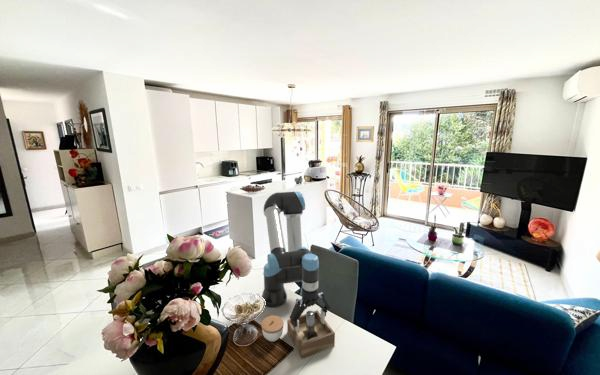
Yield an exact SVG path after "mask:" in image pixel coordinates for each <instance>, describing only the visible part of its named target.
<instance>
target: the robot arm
mask: <svg viewBox="0 0 600 375" xmlns="http://www.w3.org/2000/svg"><path fill="white" fill-rule="evenodd" d="M305 209H306V201H305V196H304V194H303V193H302V192H301V191H285V192H283V191H282V192H274V193H272V194H270V196H268V198H266V200H265V203H264V205H263V215H264V217H265V218H266V225H267V227H266V228H267V233H268V234H267V235H268V241H269V242H268V243H269V250H270V253H268V254H267V259H266V261H267V263H265V265H264V267H263V286H264V287H263V291H262V294H261V298H262V297H263V298H264V299H265V301H266V305H265V306H266V307H269V308H278V307H280V306H282V305H284V304H285V303H286V302H287V300H288V294H287V291H286V289H285V284H291V283H292V284H293V283H301V286H302V287H301V293H302V294H301V296H302V297H301V298H300V299H299V298H296V299H295V303H294V306H293V308H292V311H291V313H290V315H289V320H290V319H291V321H292V322H293V321H294V326H295V330H296V331H297V333H299V320H298V319H299V318H300V316H302V315H303V313H304V312H305V310H307V309H308V308H309V307H313V306H315V305H316V306H318V307H319V308H320V314H321V322H322V323H323V324H325V321H326V318H325V317H327V313H328V310H329V309H330V308H331V307H330V306H329V304H328V301H327V300H326V298H325V294H324V292H323V291H319V270H320V269H319V268H320V266H319V265H320V262H319V257H318V256H317V255H316V254H314V253H312V251H311V250H310V249H309V248H307V247H306V246H303V240H302V239H303V238H302V221H301V216H302V215H303V213H304V212H303V211H305ZM281 213H283V216H285V218H286V221H285V222H286V235H287V251H286V245H285V244H286V243H285V239H284V233H283V228H282V223H281V216H280V215H281ZM319 299H321V302H322V303H323V304H324V305H323V304H322V303H320V301H318V300H319Z"/></svg>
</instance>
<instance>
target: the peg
mask: <svg viewBox="0 0 600 375" xmlns="http://www.w3.org/2000/svg"><path fill="white" fill-rule="evenodd" d="M305 314H306V335H305V337H306V338H307V340H309V339H311V338H314V337H315V313H314V311H313V310H307V311H306V312H305Z"/></svg>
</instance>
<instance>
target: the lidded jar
mask: <svg viewBox="0 0 600 375" xmlns="http://www.w3.org/2000/svg"><path fill="white" fill-rule="evenodd" d="M284 323H285V322H284V319H283V318H282V317H280V316H279V315H268V316H266V317H265V318H264V319H263V320H262V321H261V325H260V326H261V332H262V334H263V337H264V339H266V340H267V341H268V342H270V343H271V342H276V341H278V340H279V339H281V337H282V335H283V332H284V326H285V325H284Z"/></svg>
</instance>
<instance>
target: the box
mask: <svg viewBox="0 0 600 375" xmlns="http://www.w3.org/2000/svg"><path fill="white" fill-rule="evenodd" d="M313 312H314V313H315V337H314V338H311V339H309V340H307V338H306V313H305V314H302V315H301V316H300V318H299V319H298V320H299V333H297V331H296V330H295V326H294V321H293V322H292V321H291V319H290V318H289V319H287V322H286V323H287V324H286V326H287V327H286V328H287V329H286V330H287V334H288V337H289V338H290V339H291V342H292V343H293V346H294V347H295V349H296V351H297V353H298V355H299V357H300V358H301V360H304V359H306V358H308V357H312V356H313V355H316V354H318V353H321V352H323V351H325V350H328V349H330V348H333V347H335V346H336V345H335V342H336V340H335V338H336V336H335V335H336V332H335V331H334V330H333V329H332V327H331V326H330V325H329V324H328V322H327V321H326V320H325V324H323V323H322V322H321V312H319V310H314V311H313Z"/></svg>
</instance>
